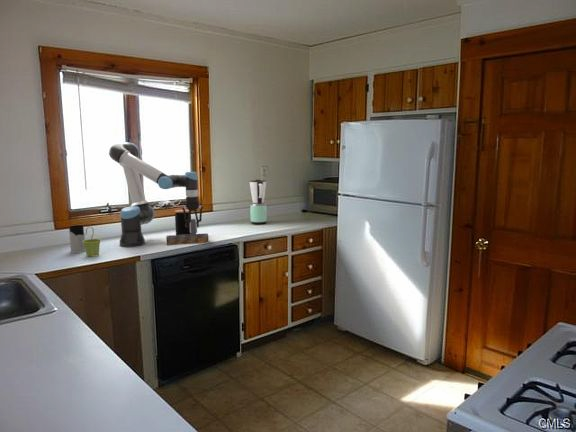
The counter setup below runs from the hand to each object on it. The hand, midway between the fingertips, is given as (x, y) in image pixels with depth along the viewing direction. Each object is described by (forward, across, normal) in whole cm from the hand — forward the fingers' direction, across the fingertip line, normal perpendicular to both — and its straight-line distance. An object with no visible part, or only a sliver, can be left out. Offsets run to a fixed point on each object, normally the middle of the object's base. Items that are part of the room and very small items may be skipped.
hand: (193, 232), depth 282 cm
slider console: (+6, -4, 0) cm, 7 cm away
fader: (+3, 0, 0) cm, 3 cm away
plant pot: (+6, -57, -22) cm, 61 cm away
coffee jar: (+6, -6, +20) cm, 22 cm away
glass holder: (+6, -65, -7) cm, 66 cm away
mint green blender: (+6, +53, +57) cm, 78 cm away
